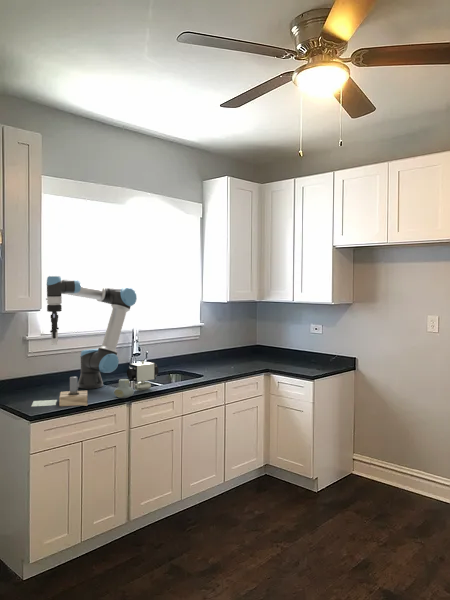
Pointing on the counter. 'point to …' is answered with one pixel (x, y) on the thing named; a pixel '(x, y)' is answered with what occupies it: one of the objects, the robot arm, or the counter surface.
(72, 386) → the pin
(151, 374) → the white boxy device
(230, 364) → the counter surface
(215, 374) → the counter surface
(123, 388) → the air freshener
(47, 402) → the mat
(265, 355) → the counter surface
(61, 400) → the block
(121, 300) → the robot arm
